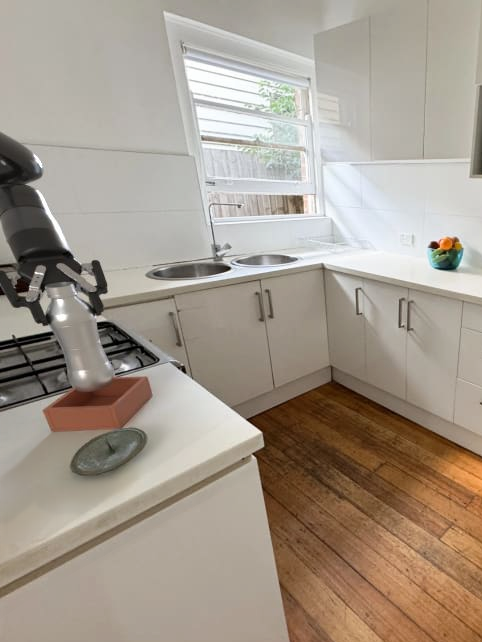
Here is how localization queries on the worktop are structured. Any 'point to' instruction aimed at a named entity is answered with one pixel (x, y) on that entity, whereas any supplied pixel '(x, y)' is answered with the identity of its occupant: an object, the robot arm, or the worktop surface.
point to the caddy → (99, 406)
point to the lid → (108, 451)
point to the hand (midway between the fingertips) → (73, 318)
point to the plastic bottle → (78, 338)
